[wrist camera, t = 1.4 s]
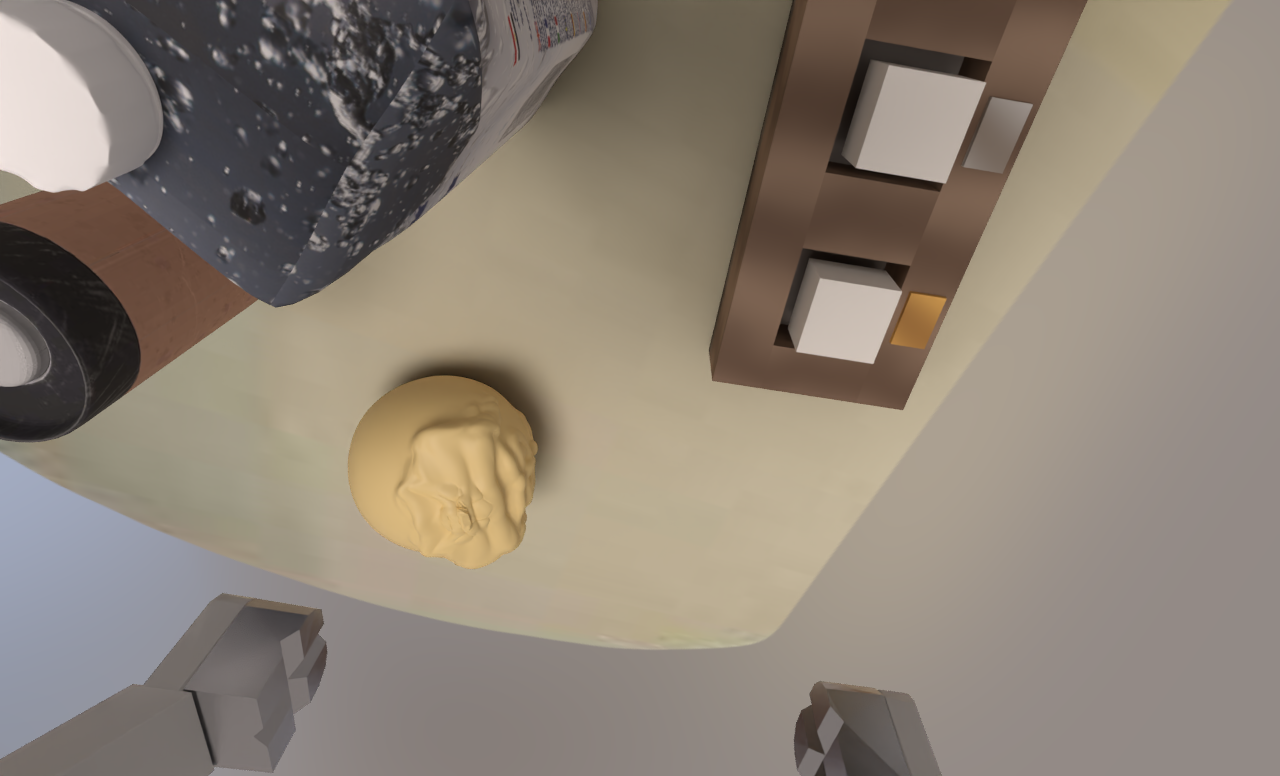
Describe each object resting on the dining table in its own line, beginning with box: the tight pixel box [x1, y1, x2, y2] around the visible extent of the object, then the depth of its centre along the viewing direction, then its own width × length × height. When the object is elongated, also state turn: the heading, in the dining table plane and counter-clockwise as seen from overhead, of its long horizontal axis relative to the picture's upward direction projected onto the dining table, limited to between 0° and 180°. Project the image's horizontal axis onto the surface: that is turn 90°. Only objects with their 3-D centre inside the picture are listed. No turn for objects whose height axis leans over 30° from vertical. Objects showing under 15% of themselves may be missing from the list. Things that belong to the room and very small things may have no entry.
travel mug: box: [0, 182, 258, 442], centre depth 29 cm, size 8×8×20 cm
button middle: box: [841, 59, 986, 183], centre depth 30 cm, size 4×4×3 cm
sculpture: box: [348, 375, 538, 569], centre depth 42 cm, size 11×12×11 cm
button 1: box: [788, 258, 902, 364], centre depth 35 cm, size 4×4×3 cm
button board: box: [709, 0, 1087, 410], centre depth 32 cm, size 32×12×4 cm, turn 171°
